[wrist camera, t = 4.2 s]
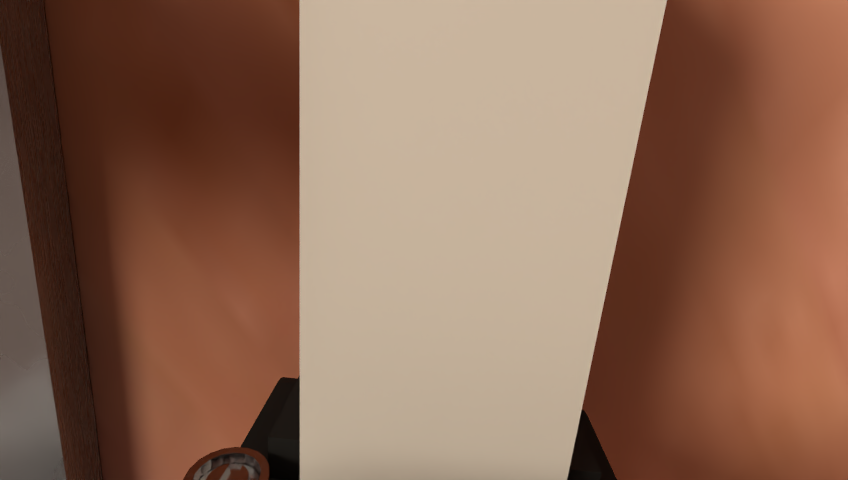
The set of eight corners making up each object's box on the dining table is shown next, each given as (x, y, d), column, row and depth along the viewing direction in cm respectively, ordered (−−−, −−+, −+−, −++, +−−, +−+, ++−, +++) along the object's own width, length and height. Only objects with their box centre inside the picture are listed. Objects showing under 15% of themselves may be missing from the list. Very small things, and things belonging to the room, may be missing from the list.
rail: (373, -123, 9) (298, -367, 4) (580, -107, 9) (736, -335, 4) (343, 660, 16) (299, 910, 11) (463, 671, 16) (473, 928, 11)
